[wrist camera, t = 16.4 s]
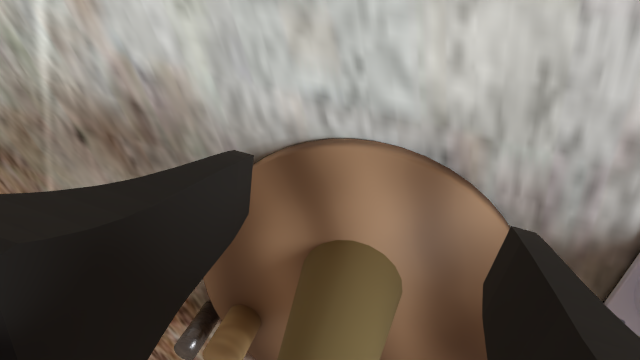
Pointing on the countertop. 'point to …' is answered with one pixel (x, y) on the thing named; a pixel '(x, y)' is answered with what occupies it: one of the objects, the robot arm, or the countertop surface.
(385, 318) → the olive pawn piece
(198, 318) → the dark gray cylinder
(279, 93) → the countertop surface
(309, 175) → the disc
